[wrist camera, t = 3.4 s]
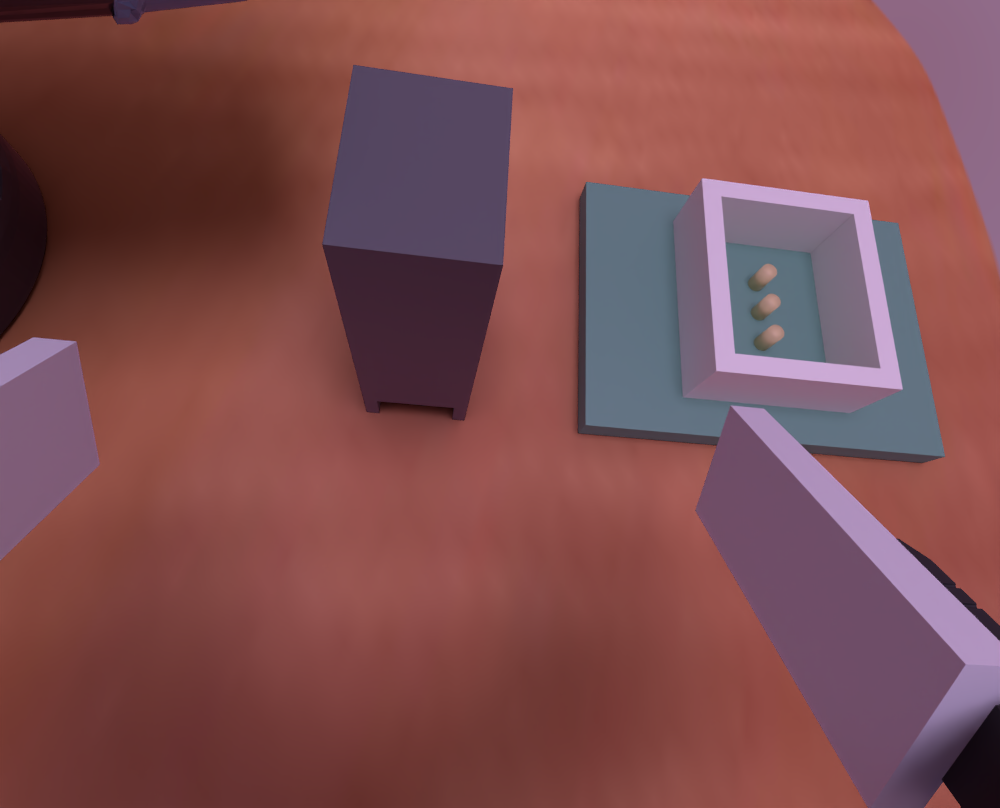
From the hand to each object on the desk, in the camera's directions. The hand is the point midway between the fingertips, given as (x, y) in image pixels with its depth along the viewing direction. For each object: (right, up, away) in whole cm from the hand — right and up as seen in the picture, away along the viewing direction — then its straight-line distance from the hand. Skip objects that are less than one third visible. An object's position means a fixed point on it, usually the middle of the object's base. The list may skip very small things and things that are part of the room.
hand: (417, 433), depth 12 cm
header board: (+13, +4, +16) cm, 21 cm away
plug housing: (-2, +3, +13) cm, 13 cm away
